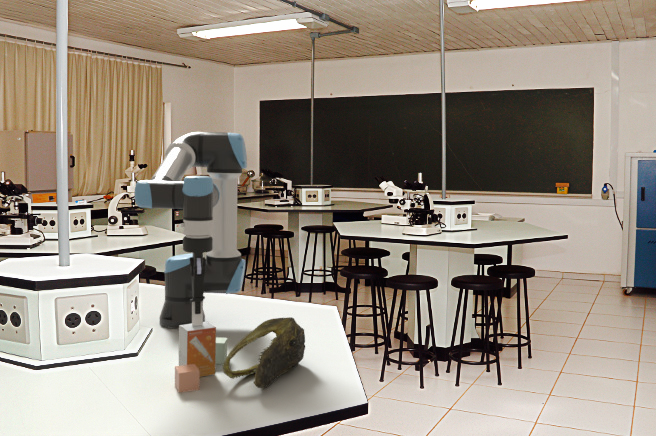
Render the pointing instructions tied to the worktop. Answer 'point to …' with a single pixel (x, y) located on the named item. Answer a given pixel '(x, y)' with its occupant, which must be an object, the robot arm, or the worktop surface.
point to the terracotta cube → (186, 378)
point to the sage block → (221, 350)
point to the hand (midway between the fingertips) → (197, 324)
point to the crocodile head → (272, 351)
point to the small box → (198, 347)
